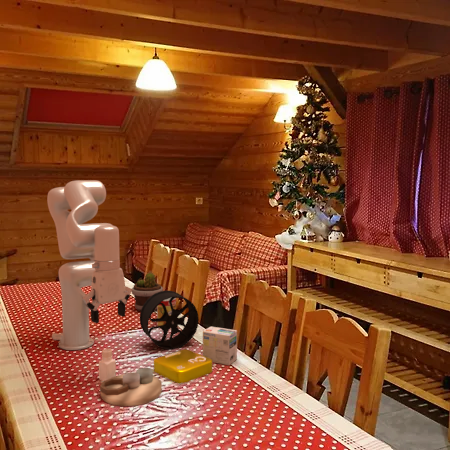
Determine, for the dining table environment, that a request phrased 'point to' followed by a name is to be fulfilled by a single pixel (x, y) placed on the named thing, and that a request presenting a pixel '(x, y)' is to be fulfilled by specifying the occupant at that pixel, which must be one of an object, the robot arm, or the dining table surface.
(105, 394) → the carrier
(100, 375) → the salt shaker
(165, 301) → the canned food
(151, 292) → the flowerpot
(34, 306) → the dining table surface
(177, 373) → the element tile
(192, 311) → the car wheel rim
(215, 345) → the light bulb box
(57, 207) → the robot arm
